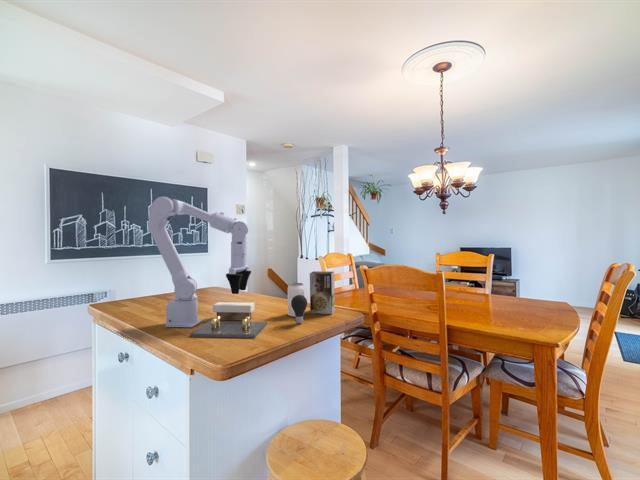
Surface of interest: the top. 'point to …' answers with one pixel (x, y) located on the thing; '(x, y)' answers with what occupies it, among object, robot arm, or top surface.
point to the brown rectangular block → (233, 315)
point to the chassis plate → (229, 329)
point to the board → (233, 307)
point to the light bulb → (299, 307)
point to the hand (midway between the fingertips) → (239, 291)
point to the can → (292, 292)
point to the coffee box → (322, 292)
